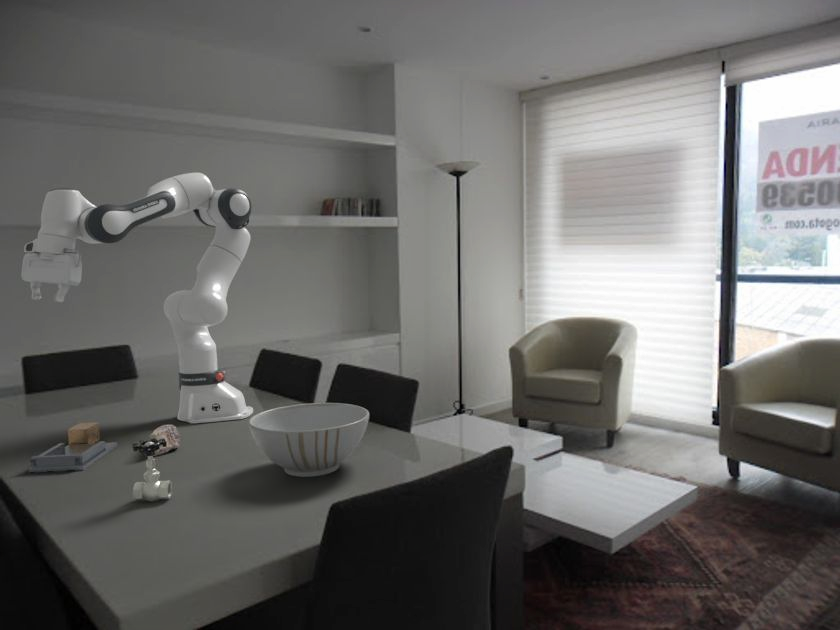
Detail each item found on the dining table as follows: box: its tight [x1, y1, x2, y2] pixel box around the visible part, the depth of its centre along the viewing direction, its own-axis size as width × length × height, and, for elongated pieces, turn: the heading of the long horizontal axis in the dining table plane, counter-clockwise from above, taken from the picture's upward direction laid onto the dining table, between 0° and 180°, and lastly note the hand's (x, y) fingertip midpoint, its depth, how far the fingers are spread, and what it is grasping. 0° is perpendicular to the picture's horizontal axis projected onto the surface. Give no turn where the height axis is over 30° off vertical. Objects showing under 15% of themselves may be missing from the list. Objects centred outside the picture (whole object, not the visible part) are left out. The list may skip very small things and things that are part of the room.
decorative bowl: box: [248, 402, 370, 478], centre depth 151 cm, size 27×27×12 cm
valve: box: [131, 438, 173, 502], centre depth 134 cm, size 7×7×12 cm
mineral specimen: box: [149, 424, 180, 457], centre depth 170 cm, size 13×7×6 cm, turn 14°
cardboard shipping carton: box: [67, 421, 101, 445], centre depth 179 cm, size 5×7×5 cm
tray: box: [28, 440, 119, 474], centre depth 166 cm, size 12×20×4 cm, turn 3°
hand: (47, 300), depth 174 cm, fingers open, 8 cm apart
